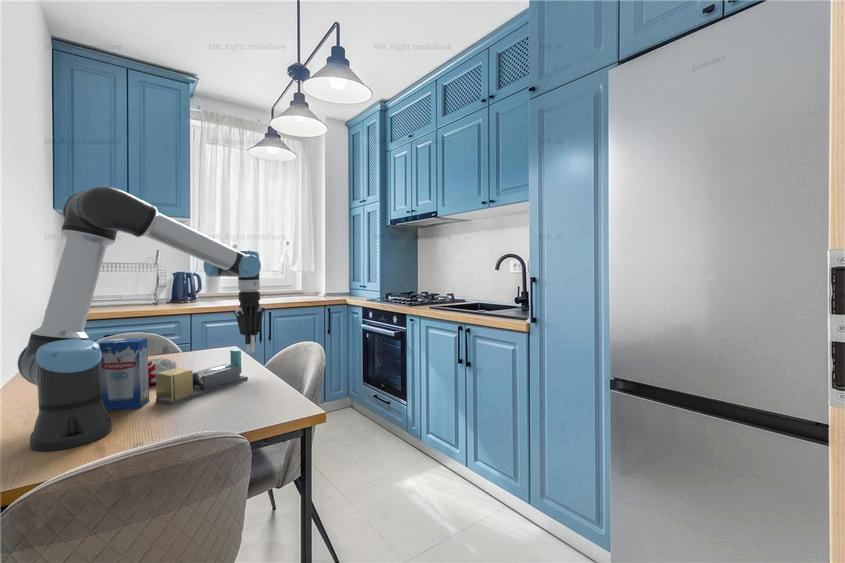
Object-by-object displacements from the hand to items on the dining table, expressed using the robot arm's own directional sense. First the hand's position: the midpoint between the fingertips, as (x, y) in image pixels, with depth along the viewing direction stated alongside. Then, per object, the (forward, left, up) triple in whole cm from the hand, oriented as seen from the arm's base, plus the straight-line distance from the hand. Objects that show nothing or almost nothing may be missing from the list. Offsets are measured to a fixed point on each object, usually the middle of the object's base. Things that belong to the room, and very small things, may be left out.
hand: (250, 352), depth 150 cm
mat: (-17, +6, -9) cm, 21 cm away
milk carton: (-34, +21, -9) cm, 42 cm away
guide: (-20, +7, -8) cm, 23 cm away
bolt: (-13, +5, -6) cm, 15 cm away
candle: (-13, +30, -9) cm, 34 cm away
